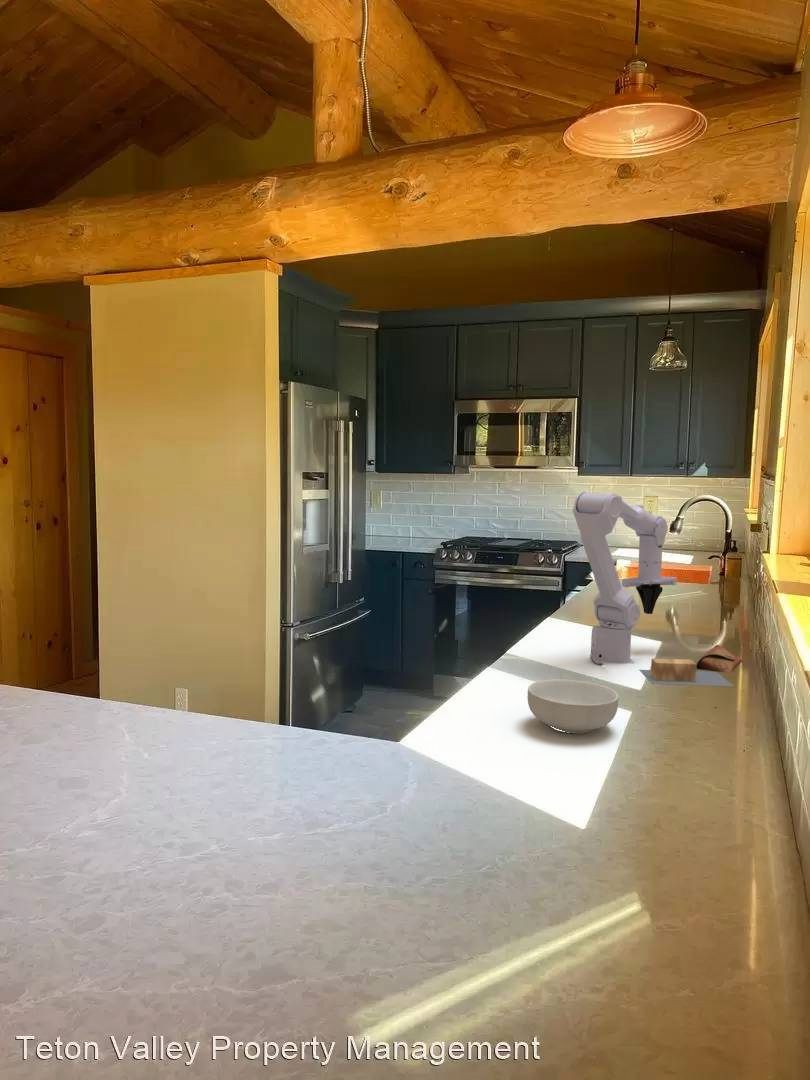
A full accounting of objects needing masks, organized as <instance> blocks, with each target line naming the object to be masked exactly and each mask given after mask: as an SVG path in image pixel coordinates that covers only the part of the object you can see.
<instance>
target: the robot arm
mask: <svg viewBox="0 0 810 1080" xmlns="http://www.w3.org/2000/svg"><path fill="white" fill-rule="evenodd" d="M574 500H575V501H574V504H573V508H572V513H573V515H574V519H575V522H576V524H577V528H578V529H579V532H580V533H579V534H580V539H581V543H582V546H583V548H584V551H585V555H586V556H587V557H586V558H587V560H588V562H589V565H590V568H591V572H592V575H593V577H594V581H595V582H596V586H597V590H598V593H597V594H596V595H595V597H594V599H593V602H592V603H593V605H594V616H595V618H596V620H597V621H598V625H593V626H592V628H591V629H592V630H591V637H590V638H591V639H590V655H589V657H590V658H591V659H592V660H593V661H594V663H595V664H596V665H604V664H605V663H606V664H635V662H634V661H633V660H632V659H631V648H632V647H631V645H632V643H631V642H632V628H635V626H636V625H637V623H638V622H639V620H640V616H641V609H640V606H639V604H638V603H637V602H636V601H635V599H634V596H633V595H632V594H630V593H629V592H628V591H626V590H625V589H624V588H629V587H630V588H631V587H635V589H636V591H637V593H638V595H639V598H640V601H641V604H642V608H643V613H644V614H646V615H653V612H654V610H655V607H656V604H657V600H658V599H659V597H660V595H661V594H662V592H663V586H677V584H678V583H677V579H678V578H677V577H673V576H662V566H663V565H662V563H663V562H662V561H663V545H664V544H665V542H666V535H667V533H668V529H669V526H668V522H667V520H666V519H665V518H664V517H663V516H659V515H654V514H653V511H650V510H646V509H644V506H643V505H642V504H635V505H630V504H628V503H627V502H625V501H624V500H623V498H622V496H621V495H618V494H616V493H594V492H593V493H592V492H586V491H582V492H579V493H578V494H577V496H576V498H575V499H574ZM619 518H620V519H622V520H623V523H624V525H625V526H626V527H628V528H630V529H631V530H633V531H634V532H635V534H636V536H637V537H639V539H638V540H639V541H638V542H639V546H638V547H639V548H638V565H637V566H638V568H637V569H638V571H637V576H636V577H629V578H622V579H621V581H620V578H619V575H618V571H617V568H616V565H615V563H614V560H613V557H612V553H611V551H610V548H609V544H608V541H607V539H606V536H607V535H609V534H611V533H612V531H613V530H614V528H615V525H616V523H617V521H618V519H619Z"/></svg>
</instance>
